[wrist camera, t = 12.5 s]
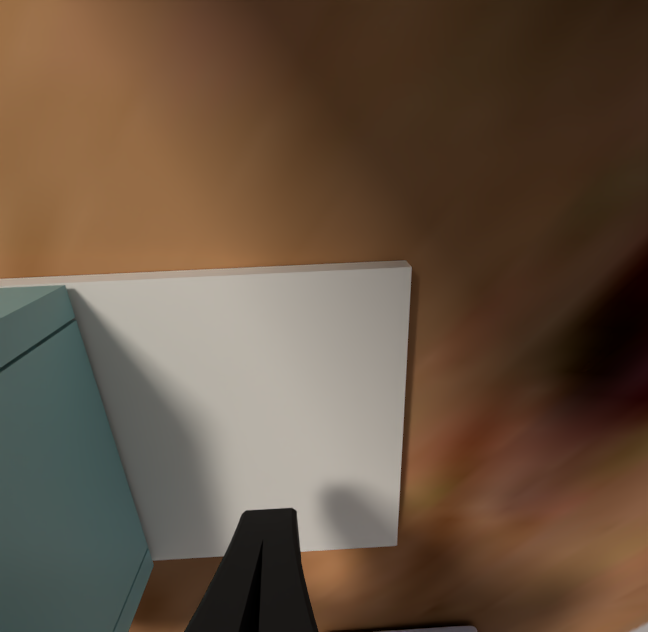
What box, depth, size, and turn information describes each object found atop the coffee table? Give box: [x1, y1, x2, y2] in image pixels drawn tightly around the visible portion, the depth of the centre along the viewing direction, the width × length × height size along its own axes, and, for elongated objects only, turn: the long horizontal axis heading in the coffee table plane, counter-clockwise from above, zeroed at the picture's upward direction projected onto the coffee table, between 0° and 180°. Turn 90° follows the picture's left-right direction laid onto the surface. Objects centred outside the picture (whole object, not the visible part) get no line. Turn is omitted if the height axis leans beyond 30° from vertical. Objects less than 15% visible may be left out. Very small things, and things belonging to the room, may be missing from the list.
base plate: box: [0, 260, 412, 561], centre depth 12 cm, size 12×18×4 cm, turn 92°
